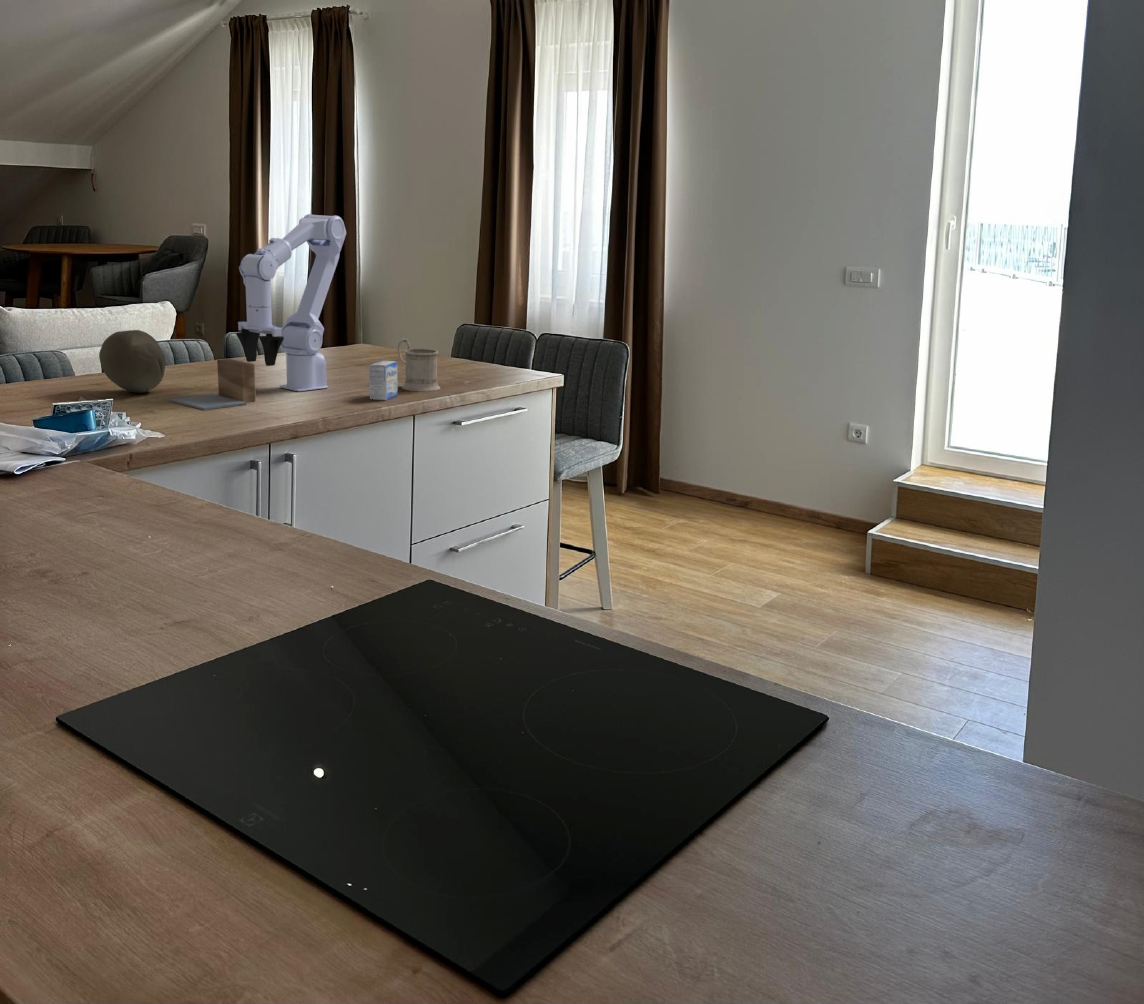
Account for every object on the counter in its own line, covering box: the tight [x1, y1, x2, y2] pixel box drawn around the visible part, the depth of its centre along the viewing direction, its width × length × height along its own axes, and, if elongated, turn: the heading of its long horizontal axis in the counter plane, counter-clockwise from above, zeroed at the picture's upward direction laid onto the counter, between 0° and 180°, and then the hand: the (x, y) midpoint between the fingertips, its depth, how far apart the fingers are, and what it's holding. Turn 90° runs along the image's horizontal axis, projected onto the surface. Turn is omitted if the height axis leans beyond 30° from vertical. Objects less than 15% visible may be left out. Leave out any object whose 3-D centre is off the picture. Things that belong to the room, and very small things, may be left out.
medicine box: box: [368, 360, 398, 402], centre depth 272 cm, size 8×4×9 cm, turn 168°
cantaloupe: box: [98, 329, 166, 394], centre depth 263 cm, size 14×14×15 cm
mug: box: [397, 338, 441, 392], centre depth 289 cm, size 14×10×12 cm
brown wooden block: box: [216, 358, 257, 404], centre depth 262 cm, size 4×10×9 cm, turn 50°
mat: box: [169, 393, 247, 411], centre depth 257 cm, size 11×14×1 cm
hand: (260, 363), depth 266 cm, fingers open, 7 cm apart
